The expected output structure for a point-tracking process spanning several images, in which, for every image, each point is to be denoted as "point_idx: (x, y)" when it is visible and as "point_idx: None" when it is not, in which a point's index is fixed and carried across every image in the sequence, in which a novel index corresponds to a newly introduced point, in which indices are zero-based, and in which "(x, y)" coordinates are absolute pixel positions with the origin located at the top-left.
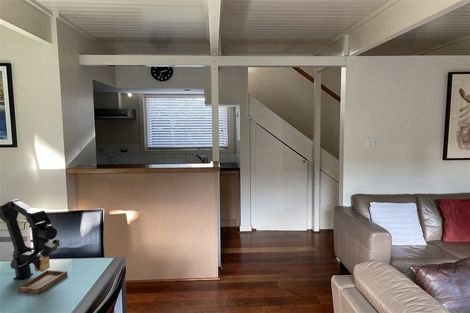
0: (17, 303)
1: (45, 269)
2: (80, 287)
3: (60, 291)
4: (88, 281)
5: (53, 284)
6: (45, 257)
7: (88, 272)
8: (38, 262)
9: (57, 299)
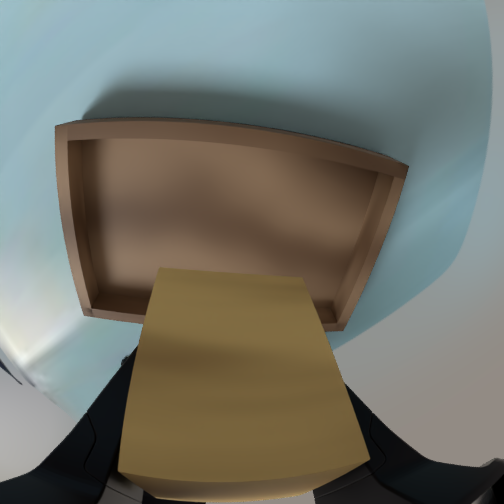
0: (439, 236)
1: (252, 280)
2: None
3: (349, 23)
4: None
5: (253, 125)
6: (225, 483)
7: (34, 8)
8: (375, 430)
9: (436, 22)
